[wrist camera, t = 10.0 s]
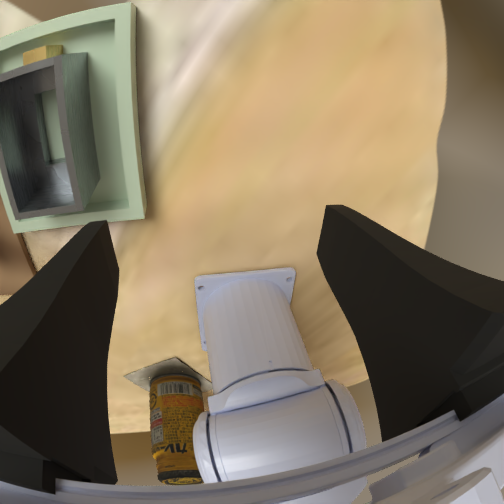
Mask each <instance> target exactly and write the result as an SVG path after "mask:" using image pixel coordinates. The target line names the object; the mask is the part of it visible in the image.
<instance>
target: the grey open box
mask: <svg viewBox="0 0 504 504" xmlns="http://www.w3.org/2000/svg"><path fill="white" fill-rule="evenodd" d="M52 89H56V97H57V106H58V115H59V122H60V129H61V136H62V142H63V148H64V154H65V158H59V159H54V160H52V159H51V154H50V149H49V143H48V137H47V131H46V125H45V118H44V110H43V102H42V93H41V92H44V91H48V90H52ZM0 170H1V174H2V178H3V181H4V185H5V189H6V192H7V195H8V199H9V202H10V205H11V208H12V211H13V214H14V217H15V220H21V219H27V218H34V217H41V216H48V215H55V214H62V213H69V212H77V211H84V210H85V208H86V206H87V204H88V202H89V200H90V198H91V196H92V194H93V192H94V190H95V188H96V186H97V184H98V182H99V181H100V179H101V177H100V171H99V165H98V158H97V151H96V144H95V137H94V129H93V120H92V110H91V100H90V87H89V71H88V52H81V53H71V54H63V45H46V46H43V47H39V48H36V49H33V50H30V51H27V52H24V53H23V66H21V67H19V68H16V69H13V70H10V71H7V72H5V73H2V74H0Z"/></svg>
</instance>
